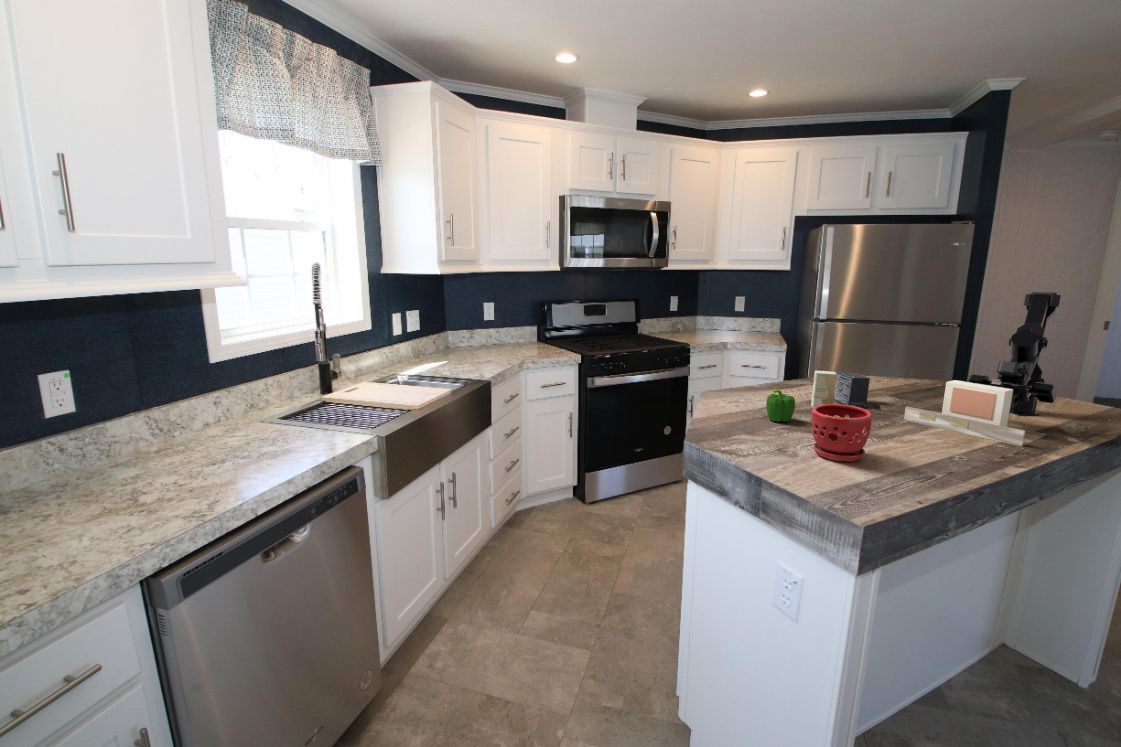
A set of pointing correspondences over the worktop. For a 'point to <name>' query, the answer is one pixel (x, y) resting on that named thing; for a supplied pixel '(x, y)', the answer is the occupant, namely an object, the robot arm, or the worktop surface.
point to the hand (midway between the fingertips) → (999, 411)
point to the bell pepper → (780, 407)
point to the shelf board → (972, 427)
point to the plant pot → (840, 431)
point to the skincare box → (823, 388)
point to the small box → (851, 389)
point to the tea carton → (977, 402)
